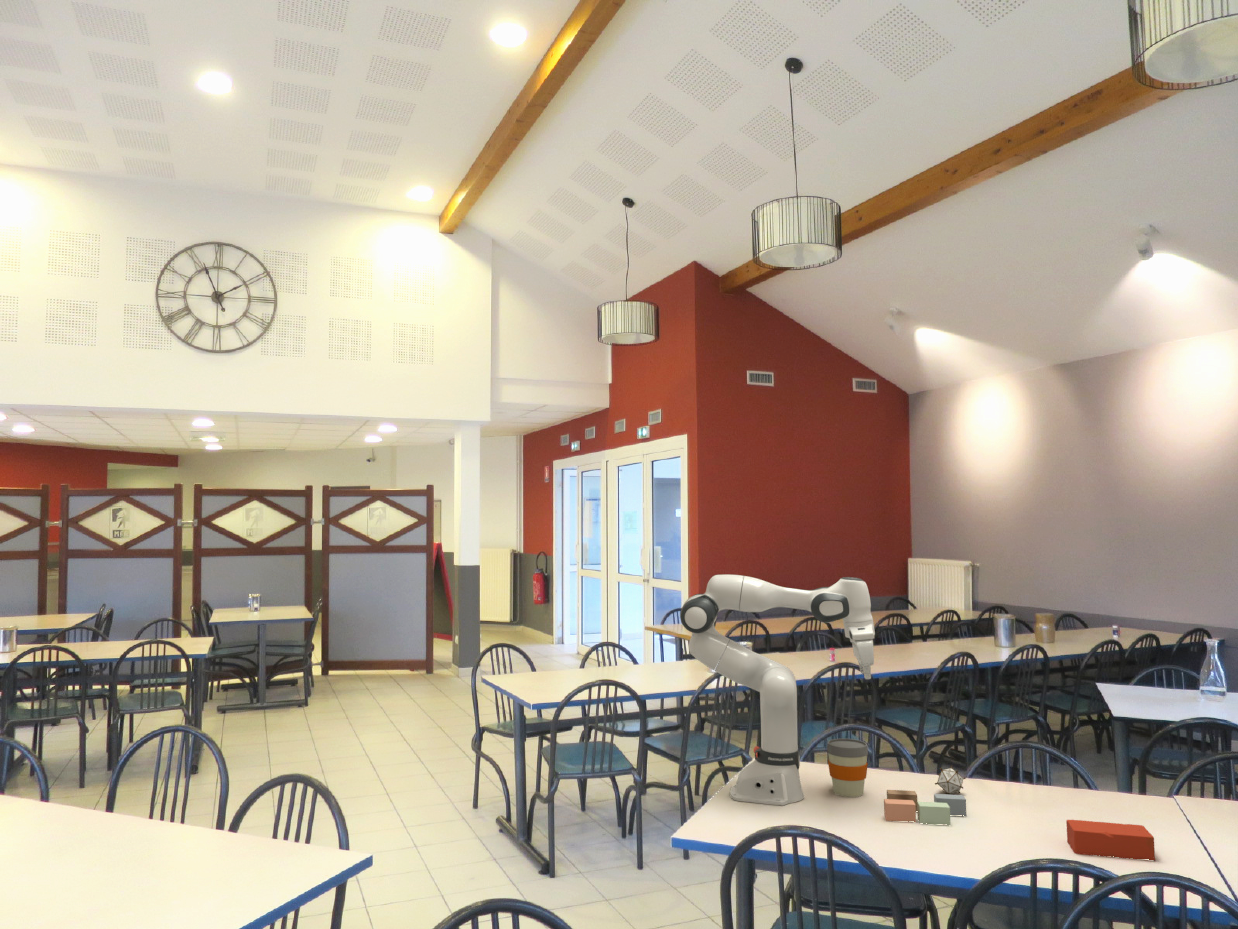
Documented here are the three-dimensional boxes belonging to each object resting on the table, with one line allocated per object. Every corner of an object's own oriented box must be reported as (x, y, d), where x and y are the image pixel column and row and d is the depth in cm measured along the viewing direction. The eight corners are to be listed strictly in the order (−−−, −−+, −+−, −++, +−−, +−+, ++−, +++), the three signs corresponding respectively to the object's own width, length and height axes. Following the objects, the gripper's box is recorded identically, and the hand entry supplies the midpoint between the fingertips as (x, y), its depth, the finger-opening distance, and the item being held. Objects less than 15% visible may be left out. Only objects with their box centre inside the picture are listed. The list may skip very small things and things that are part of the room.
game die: (957, 807, 264) (973, 786, 259) (931, 797, 264) (946, 776, 260) (953, 785, 272) (969, 764, 267) (928, 775, 272) (942, 754, 267)
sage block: (920, 824, 239) (919, 806, 239) (917, 819, 243) (917, 801, 243) (950, 826, 238) (949, 807, 238) (947, 821, 242) (946, 803, 242)
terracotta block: (886, 821, 242) (885, 803, 242) (884, 817, 246) (883, 799, 246) (915, 823, 240) (915, 804, 241) (913, 818, 244) (912, 800, 245)
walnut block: (889, 811, 250) (888, 793, 250) (887, 807, 254) (886, 789, 254) (917, 812, 249) (917, 795, 249) (915, 808, 253) (914, 791, 253)
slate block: (937, 816, 246) (936, 798, 246) (934, 811, 250) (933, 793, 250) (966, 817, 245) (965, 799, 245) (963, 813, 249) (962, 795, 249)
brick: (1144, 849, 221) (1143, 825, 221) (1155, 862, 212) (1154, 837, 213) (1066, 842, 226) (1066, 819, 226) (1074, 855, 217) (1073, 830, 218)
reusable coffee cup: (819, 789, 271) (818, 741, 272) (850, 784, 276) (849, 736, 277) (845, 801, 259) (844, 750, 260) (878, 795, 264) (876, 745, 266)
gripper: (845, 626, 273) (851, 670, 272) (852, 635, 252) (859, 683, 251) (865, 624, 272) (871, 668, 271) (874, 633, 251) (881, 681, 250)
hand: (865, 675), depth 261 cm, fingers open, 8 cm apart
